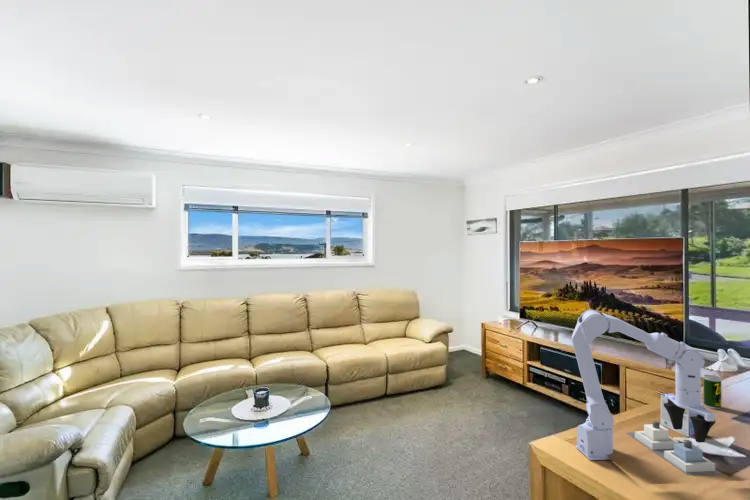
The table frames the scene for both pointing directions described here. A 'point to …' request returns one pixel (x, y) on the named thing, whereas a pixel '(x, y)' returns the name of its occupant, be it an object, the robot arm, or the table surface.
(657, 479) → the table surface
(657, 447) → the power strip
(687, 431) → the ink cartridge box
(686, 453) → the blue plug
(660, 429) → the cream plug
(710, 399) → the beer can
